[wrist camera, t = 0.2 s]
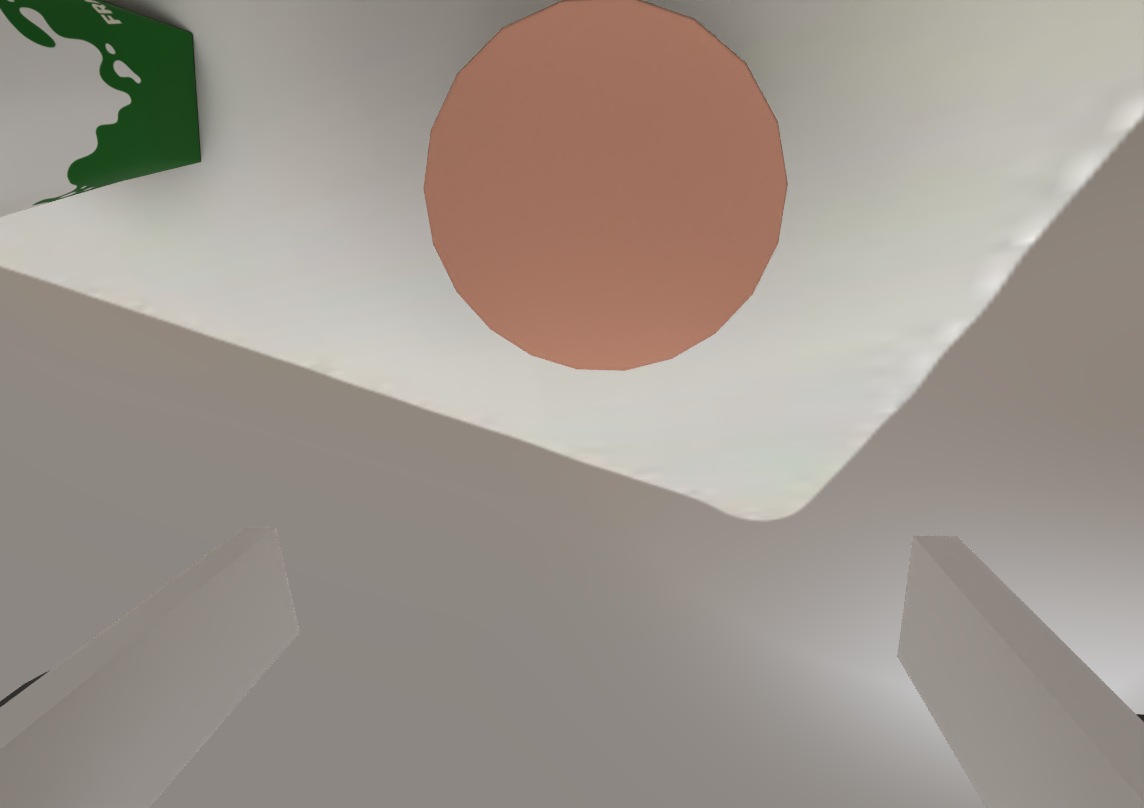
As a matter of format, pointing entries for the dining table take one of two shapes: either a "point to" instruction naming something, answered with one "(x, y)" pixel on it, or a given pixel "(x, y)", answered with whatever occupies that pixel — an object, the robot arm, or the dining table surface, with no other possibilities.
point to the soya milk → (90, 99)
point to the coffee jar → (605, 183)
